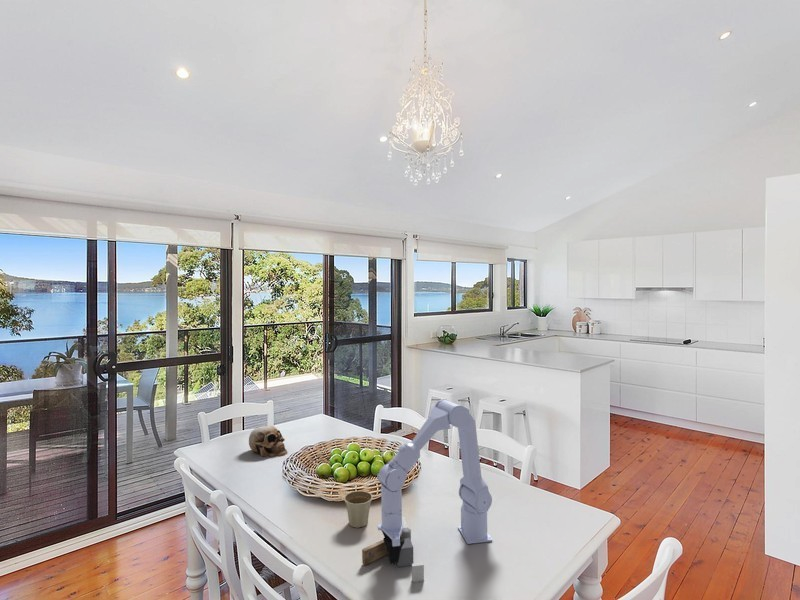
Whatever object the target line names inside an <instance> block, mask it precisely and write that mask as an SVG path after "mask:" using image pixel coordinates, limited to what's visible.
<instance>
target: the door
mask: <svg viewBox="0 0 800 600" xmlns="http://www.w3.org/2000/svg"><path fill="white" fill-rule="evenodd" d="M400 537H402V533H401V535H400ZM361 553H362V554H361V557H362V558H361V559H362V562H361V563H362V565H363V566H367V565H368V564H369V565H370V564H371V563H373V562H375V561H377V560H379V559H381V558H383V557H385V556H388V552H387V548H386V545H385V543H384V540H383V539H381V540H379V541H377V542H375V543H372V544H370V545H369V546H366V547H364V548H362V549H361Z"/></svg>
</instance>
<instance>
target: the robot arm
mask: <svg viewBox="0 0 800 600" xmlns="http://www.w3.org/2000/svg"><path fill="white" fill-rule="evenodd" d="M451 426H452V427H454V428H457V433H458V440H459V449H460V450H459V451H460V457H461V459H460V460H461V467H462V474H463V475H462V476H463V477H461V478H460V480H459V483H460V484H459V489H458V496H459V498H460V499H461V500H462V504H461V507H460V525H458V526H457V529H458V530H459V532H460V533H461V534H460V535H461V536H462V537H463V539H464V541H465V542H466V544H468V545H470V544H471V545H472V544H480V543H487V542H488V543H489V542H493V538H492V537H491V535H490V533H489V532H488V511H489V509H490V508H491V506H492V503H493V496H492V494H491V493H490V490H489V486H488V483H486V481H485V479H483V477H482V469H481V462H480V452H479V451H480V450H479V444H478V436H477V435H478V434H477V425H476V420H475V418H474V417H473V416H472V415H471V413H470V408H468V407H465V406H464V405H460V404H457V403H455V402H453V401H450V400H448V399H444V398H442V399H439V400H438V401H437V402H436V403H435V405H434V406H433V407H432V408H431V409H430V413H429V415H428V417H427V419H426V421H425V422H424V423H423V424H422V426H421V427H420V429H419V431H417V433H416V434H415V436H414V437H413V439H412V440H411V441H410V442H406V443H404V444H403V445H400V446H399V447H398V451H397V452H396V454H395V455H394V456H393V457H392V459H391V460H389V461H388V462H387V463H386V464H384V465H383V466H381V467H380V468H379V471H378V474H377V475H376V476H377V479H378V482H380V488H381V489H380V494H381V495H380V499H381V504H380V505H381V507H380V508H381V509H380V510H381V523H378V524H377V530H378V531H381V532H382V534H383V539H382V540H384V543H385V545H386V548H387V552H388V554H387V556H388V559H389V563H390V564H391V565H394V564H397V563H398V560H399V556H400V551H401V548H402V546H403V544H404V542H405V539H404V537H400V535H401V532H402V529H403V523H402V515H403V505H402V503H403V500H402V499H403V498H402V494H403V493H402V487H404V485H405V483H406V478H407V476H408V473H409V472H410V471H411V469H413V467H414V465H415V464H416V463H417V462H418V460H419V459H420V457H421V450H422V449H423V448H424V447H425V445H426V444H427V443H428V442H429V441H430V440H431V439H432V438H433V437H434V436H435V435H436V434H437V432H438V431H441V430H444V431H445V430H450V429H451V428H452V427H451Z"/></svg>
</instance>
